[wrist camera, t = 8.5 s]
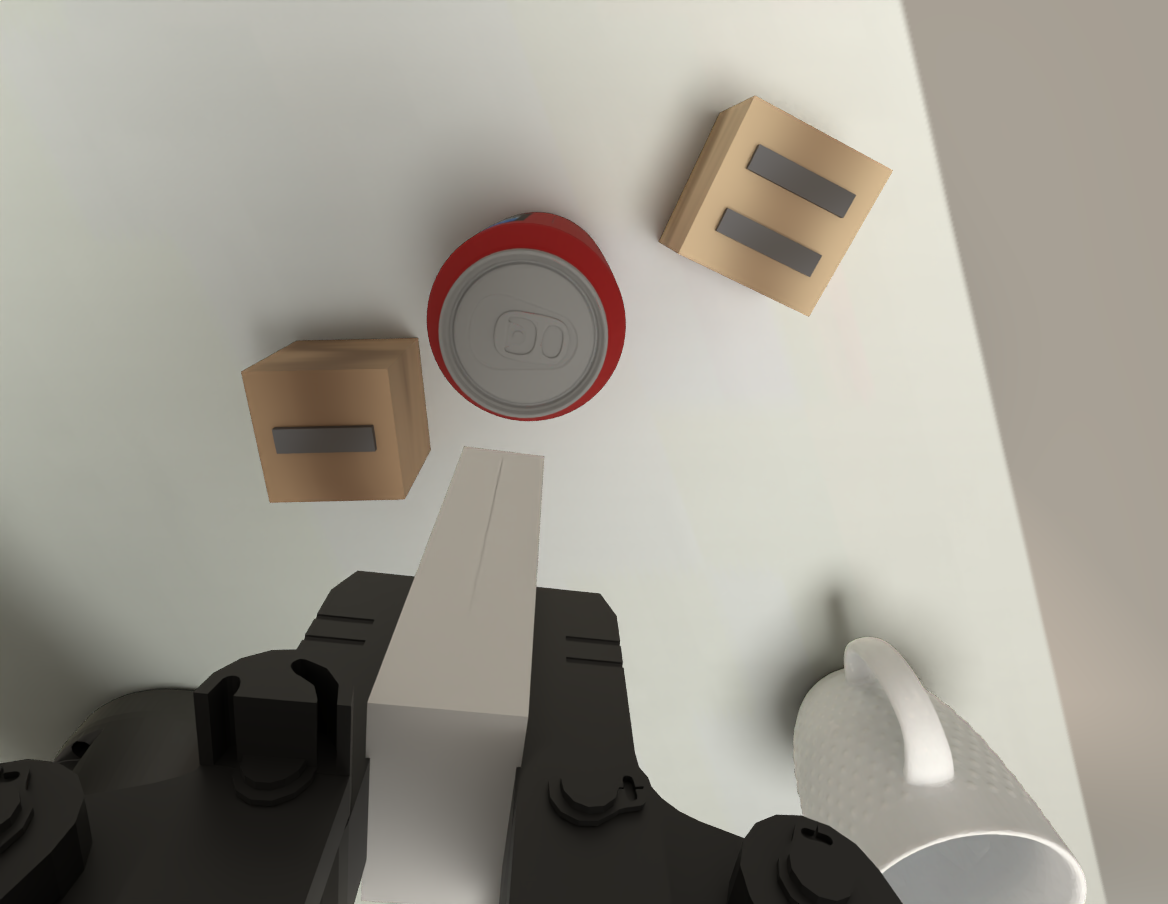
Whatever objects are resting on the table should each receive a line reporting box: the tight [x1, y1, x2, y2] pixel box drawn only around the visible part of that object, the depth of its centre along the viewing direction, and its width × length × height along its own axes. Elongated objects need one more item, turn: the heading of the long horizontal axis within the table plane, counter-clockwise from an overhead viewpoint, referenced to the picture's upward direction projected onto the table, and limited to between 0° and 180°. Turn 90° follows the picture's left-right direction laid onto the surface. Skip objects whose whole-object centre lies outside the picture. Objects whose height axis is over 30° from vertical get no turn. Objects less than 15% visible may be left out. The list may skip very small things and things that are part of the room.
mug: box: [793, 637, 1087, 904], centre depth 35 cm, size 15×11×13 cm
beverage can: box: [427, 212, 626, 421], centre depth 26 cm, size 7×7×12 cm
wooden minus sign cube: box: [241, 338, 431, 503], centre depth 31 cm, size 6×6×6 cm
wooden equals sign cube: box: [659, 96, 893, 316], centre depth 28 cm, size 6×6×6 cm
